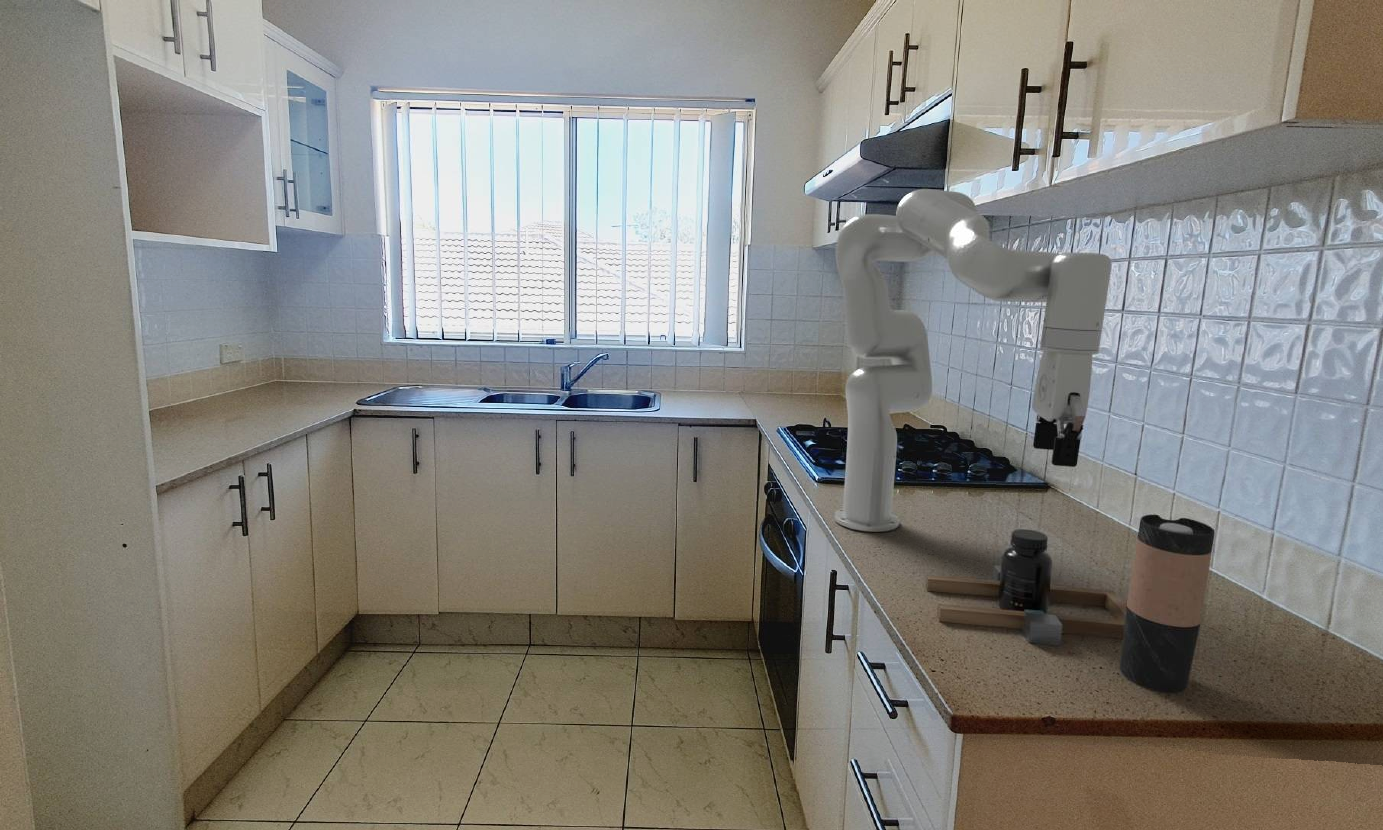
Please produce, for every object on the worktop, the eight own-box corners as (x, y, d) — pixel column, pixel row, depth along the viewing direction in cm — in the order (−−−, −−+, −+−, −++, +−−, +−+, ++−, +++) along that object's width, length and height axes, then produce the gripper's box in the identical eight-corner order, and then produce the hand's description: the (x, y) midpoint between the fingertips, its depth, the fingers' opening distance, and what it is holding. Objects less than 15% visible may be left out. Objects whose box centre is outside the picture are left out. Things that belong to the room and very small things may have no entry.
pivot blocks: (991, 582, 117) (993, 565, 116) (1017, 584, 116) (1019, 567, 116) (1028, 642, 98) (1030, 622, 97) (1059, 645, 97) (1062, 624, 96)
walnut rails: (925, 586, 115) (926, 572, 114) (1110, 602, 111) (1112, 588, 110) (939, 621, 103) (940, 606, 103) (1146, 640, 99) (1149, 625, 99)
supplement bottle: (1004, 596, 112) (1012, 522, 110) (1052, 609, 108) (1061, 533, 105) (990, 611, 107) (998, 534, 104) (1039, 626, 103) (1049, 546, 100)
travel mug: (1162, 699, 85) (1189, 538, 81) (1103, 667, 92) (1125, 517, 88) (1204, 686, 88) (1231, 530, 84) (1143, 656, 95) (1166, 511, 91)
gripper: (1026, 334, 112) (1012, 441, 115) (1060, 346, 95) (1042, 470, 99) (1078, 337, 110) (1062, 445, 114) (1121, 349, 94) (1102, 475, 97)
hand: (1053, 456), depth 106 cm, fingers open, 9 cm apart
